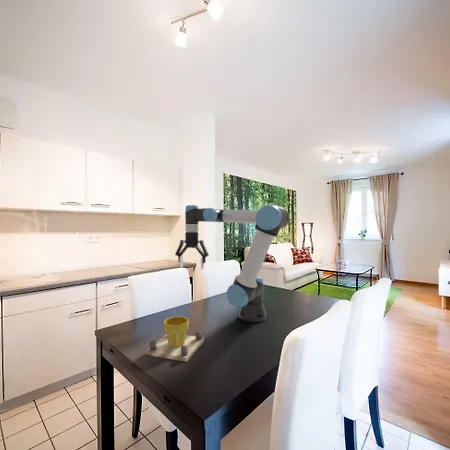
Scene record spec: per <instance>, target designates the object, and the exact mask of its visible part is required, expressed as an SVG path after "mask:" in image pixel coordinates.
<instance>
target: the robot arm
mask: <svg viewBox="0 0 450 450" xmlns="http://www.w3.org/2000/svg"><path fill="white" fill-rule="evenodd" d="M184 214H185V216H184V217H185V226H184V227H185V234H184V235H185V236H184V237H185V238H184V239H185V240H184V239H180V240H179V245H178V247H177V249H176V251H175V256H177V257H178V259H177V260H178V261H177V262H178V263H179V269H181V268H184V267H183V266H184V263H183V262H184V256H183V255H184V253H186V251H187V250H188V249H191V248H192V249H196V251H197V252H198V253H199V255H200V256H201V257H200V269H201V270H204V269H205V263H206V258H207V257H209V255H210V254H209V252H208V249H207V248H206V246H205V244H204V240H203V239H200V240H199V222H203V223H205V222H208V223H209V222H210V223H211V222H212V223H214V222H215V223H233V224H234V223H235V224H250V225H251V224H253V225H254V226H255V227H254V229H255V234H254V236H253V240H252V243H251V244H250V247H249V249H248V253H247V255H246V257H245V260H244V262H243V266H242V268H241V270H240V273H239V274H237V275H236V276H235V278H234V280H233V283H232V284H230V285H229V286H228V287H227V290H226V298H227V301H228V302H229V304H230V305H231V306H233V307H234V308H240V309H239V313H238V318H239V319H240V320H241V321H243V322H247V323H261V322H264V321H265V320H267V312H266V309H265V306H264V280H263V278H262V277H260V276H259V273H260V271H261V268H262V266H263V264H264V261H265V259H266V256H267V254H268V251H269V249H270V246H271V243H272V242H273V239H275V238H277V237H278V235H279V233H280V230H281V229H284V228H285V227H287V226H288V224H289V221H290V214H289V212H288V210H287V209H286V208H284V207H282V206H278V205H274V204H267V205H264V206H261V207H260V208H259V209H257V210H256V209H255V210H254V209H251V210H250V209H215V208H213V207H207V208H206V207H204V208H202V207H201V208H199V205H196V204H192V205H191V204H188V205H186V206H185V211H184ZM184 244H185V245H184ZM199 245H200V246H199ZM183 246H184V247H183Z"/></svg>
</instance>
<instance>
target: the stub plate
mask: <svg viewBox="0 0 450 450" xmlns="http://www.w3.org/2000/svg"><path fill="white" fill-rule="evenodd" d="M204 343H205V337H202V331H200V330H197V331H195V336H194V335H188V334H186V338H185V343H184V345H182V346H180V347H171V346H169V343H168V339H167V334H165V335H164V336H162V337H161V338H160V339H158V341H156V340H150V341H149V347H148V349H147V348H146V350H145V355H146V356H152V357H156V358H162V359H167V360H168V359H169V360H172V361H181V362H188V361H189V360H190V359H191V357H192V356H193V355H194V354H195V352H197V350H198V349H199V348H200V347H201V346H202V345H203V344H204Z"/></svg>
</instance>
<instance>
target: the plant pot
mask: <svg viewBox="0 0 450 450" xmlns="http://www.w3.org/2000/svg"><path fill="white" fill-rule="evenodd" d="M189 321H190V320H189V318H187V317H185V316H172V317H169V318H166V319H165V320H164V322H163V328H164V329H163V330H164V332H165V333H166V334H167V339H168V343H169V346H171V347H180V346H182V345H184V343H185V338H186V335H187V333H188V329H190V328H189V325H190V322H189ZM166 334H165V335H166Z"/></svg>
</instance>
